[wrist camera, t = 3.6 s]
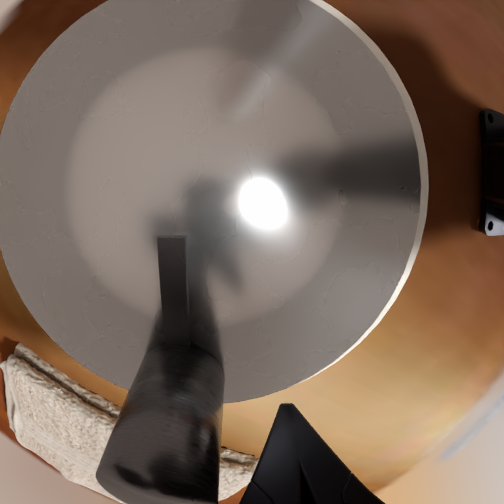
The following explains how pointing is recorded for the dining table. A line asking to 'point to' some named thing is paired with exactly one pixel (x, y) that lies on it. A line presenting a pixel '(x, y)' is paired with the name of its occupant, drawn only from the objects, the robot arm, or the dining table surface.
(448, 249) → the dining table surface
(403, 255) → the dial
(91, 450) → the washcloth
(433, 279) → the dining table surface
